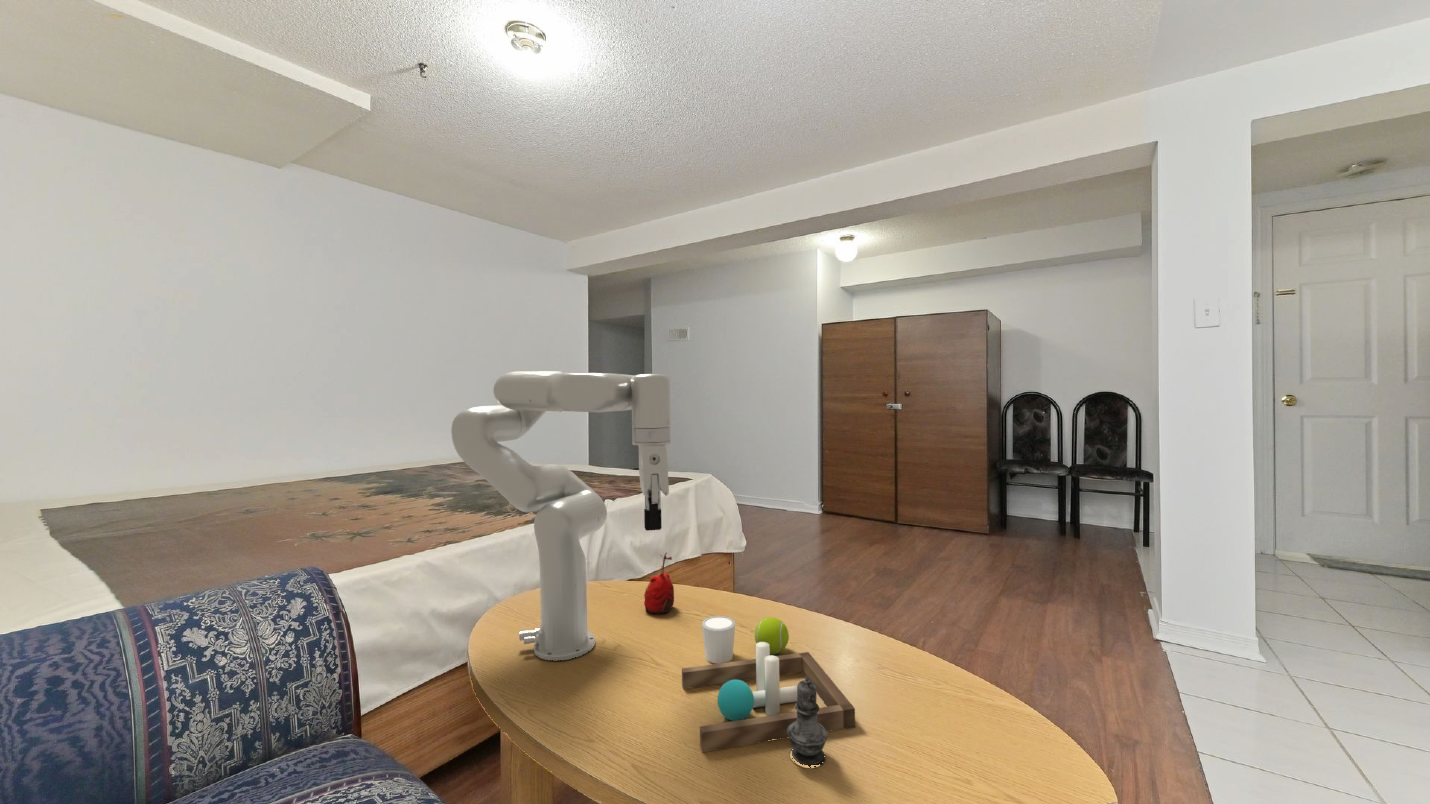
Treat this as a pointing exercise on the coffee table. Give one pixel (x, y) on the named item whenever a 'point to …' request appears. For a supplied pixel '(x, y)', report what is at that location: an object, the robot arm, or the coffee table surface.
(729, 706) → the ball
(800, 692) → the dark gray figurine
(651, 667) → the coffee table surface
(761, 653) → the pin
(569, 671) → the coffee table surface
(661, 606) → the red rounded lumpy piece
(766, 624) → the tennis ball
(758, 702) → the pin front
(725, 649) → the white cup
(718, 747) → the bumper lane
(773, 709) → the pin
